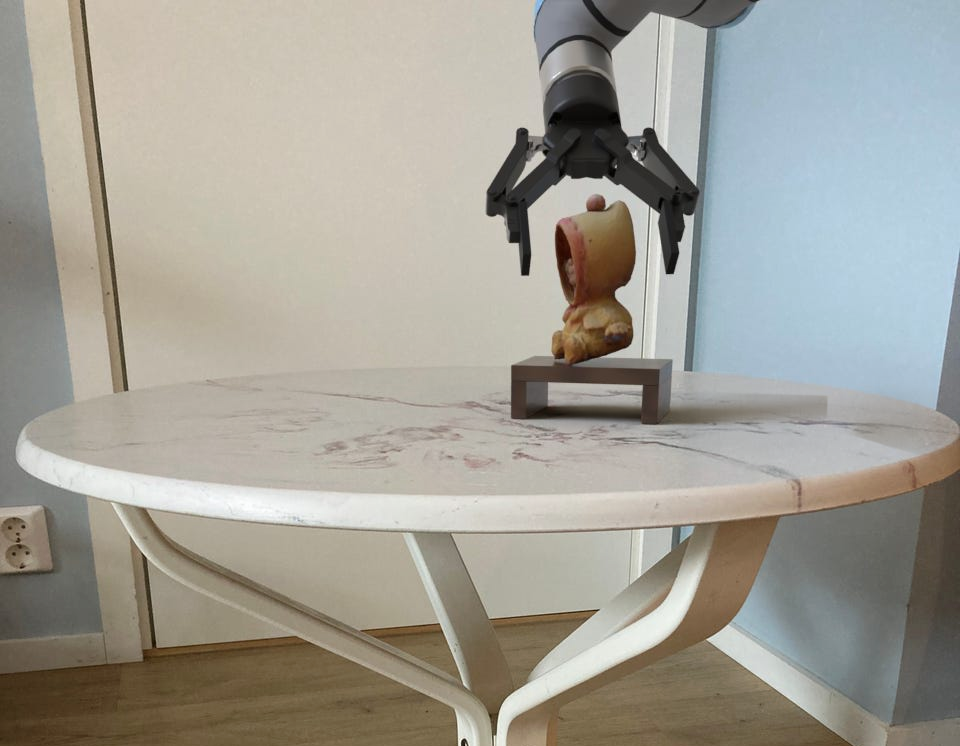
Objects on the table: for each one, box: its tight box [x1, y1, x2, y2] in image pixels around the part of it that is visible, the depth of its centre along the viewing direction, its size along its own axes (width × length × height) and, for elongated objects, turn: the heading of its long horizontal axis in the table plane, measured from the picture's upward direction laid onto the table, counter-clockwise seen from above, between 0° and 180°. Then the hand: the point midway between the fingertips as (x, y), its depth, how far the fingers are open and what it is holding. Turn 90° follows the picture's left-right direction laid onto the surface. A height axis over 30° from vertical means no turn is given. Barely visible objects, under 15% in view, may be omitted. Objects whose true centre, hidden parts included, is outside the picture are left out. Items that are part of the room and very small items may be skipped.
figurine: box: [551, 193, 637, 366], centre depth 104 cm, size 10×8×15 cm
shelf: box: [510, 355, 674, 425], centre depth 107 cm, size 14×9×5 cm, turn 73°
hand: (599, 264), depth 102 cm, fingers open, 13 cm apart
